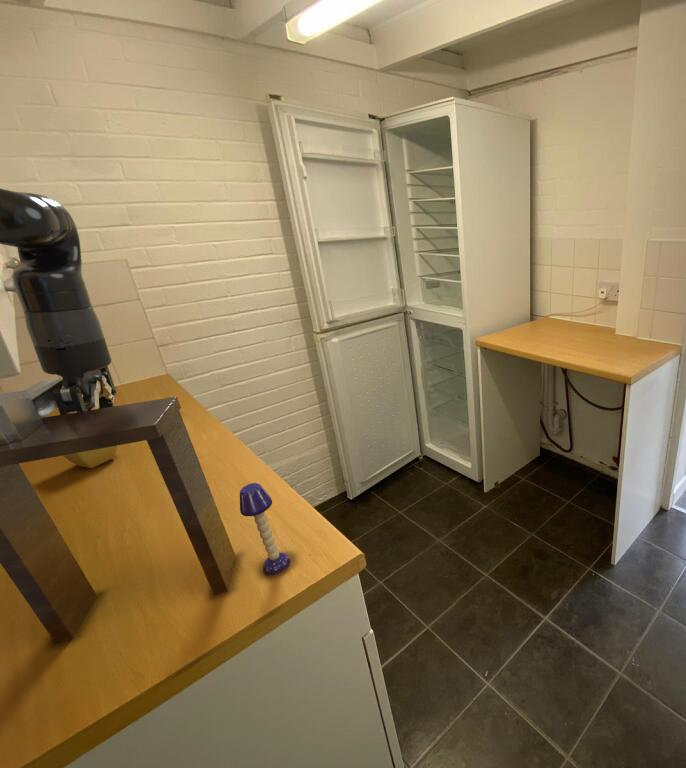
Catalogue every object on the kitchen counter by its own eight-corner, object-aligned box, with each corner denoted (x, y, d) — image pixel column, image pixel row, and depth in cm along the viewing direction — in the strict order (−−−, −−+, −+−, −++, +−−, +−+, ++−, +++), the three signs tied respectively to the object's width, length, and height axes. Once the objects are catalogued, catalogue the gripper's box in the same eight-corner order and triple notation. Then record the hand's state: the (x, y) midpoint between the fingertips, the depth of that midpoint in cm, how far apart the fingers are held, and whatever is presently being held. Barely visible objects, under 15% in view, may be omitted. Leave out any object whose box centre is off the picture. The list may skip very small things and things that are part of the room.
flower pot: (64, 469, 104) (47, 437, 100) (105, 450, 112) (90, 421, 108) (86, 474, 101) (70, 443, 98) (127, 455, 109) (113, 425, 105)
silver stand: (-36, 451, 50) (-59, 415, 48) (40, 400, 64) (24, 370, 62) (19, 442, 52) (-1, 406, 50) (81, 394, 66) (67, 364, 64)
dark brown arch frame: (51, 649, 61) (-78, 465, 48) (85, 595, 69) (-18, 426, 56) (226, 596, 68) (155, 424, 56) (237, 553, 77) (177, 396, 64)
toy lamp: (255, 573, 72) (226, 495, 66) (273, 553, 77) (248, 478, 70) (280, 576, 72) (253, 498, 65) (297, 555, 76) (273, 480, 69)
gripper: (54, 329, 66) (86, 421, 72) (9, 353, 55) (51, 460, 60) (116, 326, 70) (142, 414, 76) (85, 347, 58) (119, 449, 64)
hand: (102, 434), depth 68 cm, fingers open, 8 cm apart
